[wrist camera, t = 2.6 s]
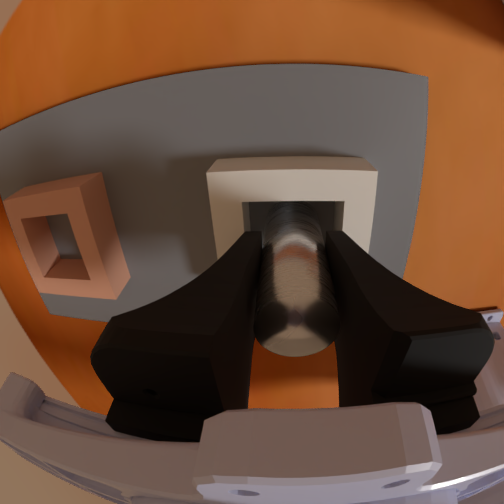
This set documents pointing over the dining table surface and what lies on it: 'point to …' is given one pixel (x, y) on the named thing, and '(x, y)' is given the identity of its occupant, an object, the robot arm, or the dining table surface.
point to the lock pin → (295, 284)
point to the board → (208, 151)
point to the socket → (85, 231)
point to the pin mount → (291, 192)
